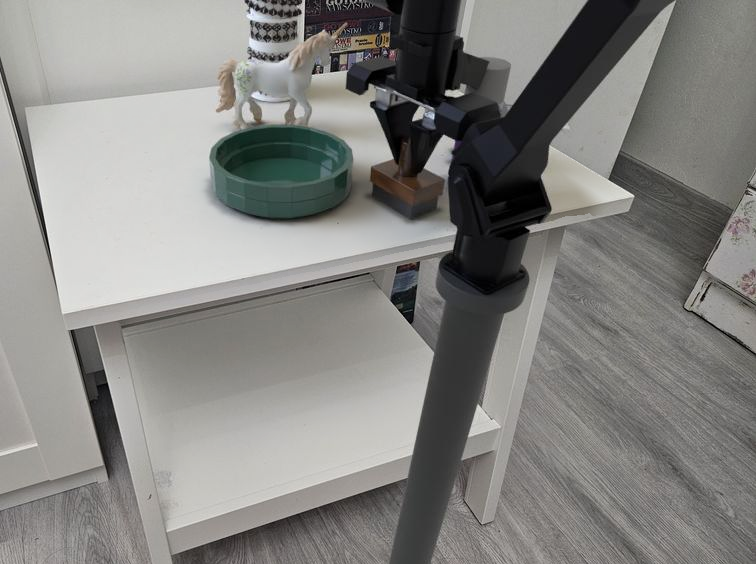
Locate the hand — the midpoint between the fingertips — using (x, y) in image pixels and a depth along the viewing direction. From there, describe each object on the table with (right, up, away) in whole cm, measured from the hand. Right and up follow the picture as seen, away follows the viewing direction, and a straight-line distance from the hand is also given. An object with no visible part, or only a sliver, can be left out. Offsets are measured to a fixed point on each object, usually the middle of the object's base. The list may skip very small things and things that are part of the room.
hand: (408, 168), depth 76 cm
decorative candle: (-17, +21, +31) cm, 41 cm away
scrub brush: (0, -3, +3) cm, 4 cm away
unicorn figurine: (-15, +13, +22) cm, 29 cm away
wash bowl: (-15, -1, +6) cm, 16 cm away
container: (+9, 0, +7) cm, 11 cm away
